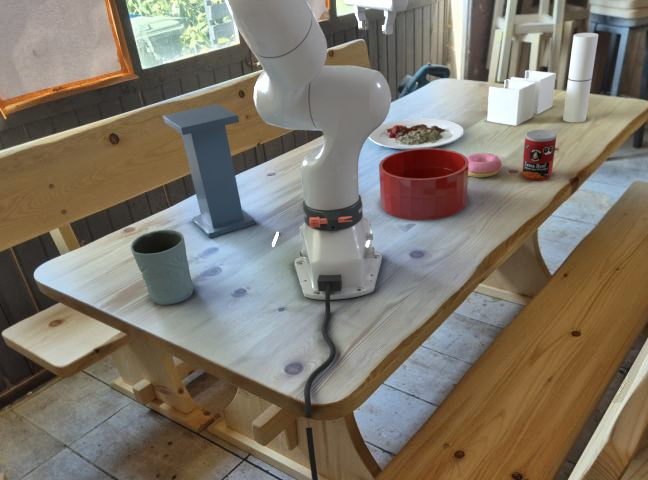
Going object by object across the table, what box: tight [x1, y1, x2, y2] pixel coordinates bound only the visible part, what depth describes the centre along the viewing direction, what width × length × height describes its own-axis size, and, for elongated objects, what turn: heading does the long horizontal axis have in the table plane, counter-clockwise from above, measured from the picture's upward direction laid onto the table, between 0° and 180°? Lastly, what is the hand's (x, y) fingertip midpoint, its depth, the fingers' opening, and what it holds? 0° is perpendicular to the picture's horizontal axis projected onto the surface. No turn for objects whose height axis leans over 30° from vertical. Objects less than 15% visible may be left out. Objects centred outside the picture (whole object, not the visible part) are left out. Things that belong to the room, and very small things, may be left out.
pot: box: [378, 147, 469, 221], centre depth 148 cm, size 22×22×10 cm
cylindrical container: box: [562, 32, 599, 123], centre depth 189 cm, size 7×7×25 cm
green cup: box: [130, 229, 194, 306], centre depth 118 cm, size 10×10×12 cm
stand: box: [162, 103, 256, 239], centre depth 141 cm, size 13×13×26 cm
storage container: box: [486, 69, 557, 127], centre depth 202 cm, size 25×11×11 cm, turn 139°
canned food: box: [521, 129, 557, 182], centre depth 157 cm, size 8×8×11 cm
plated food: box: [368, 117, 464, 151], centre depth 191 cm, size 30×30×3 cm
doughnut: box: [466, 152, 503, 178], centre depth 163 cm, size 11×11×4 cm
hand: (375, 31), depth 129 cm, fingers open, 8 cm apart
